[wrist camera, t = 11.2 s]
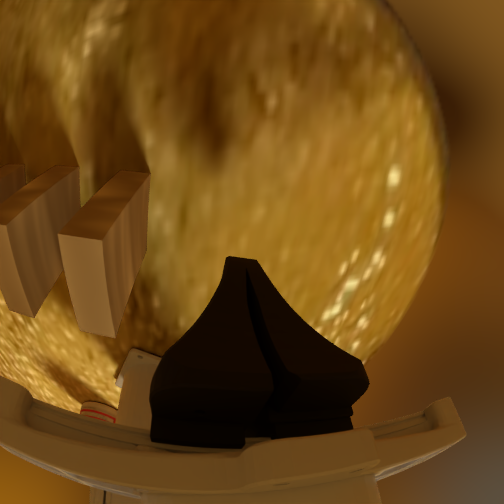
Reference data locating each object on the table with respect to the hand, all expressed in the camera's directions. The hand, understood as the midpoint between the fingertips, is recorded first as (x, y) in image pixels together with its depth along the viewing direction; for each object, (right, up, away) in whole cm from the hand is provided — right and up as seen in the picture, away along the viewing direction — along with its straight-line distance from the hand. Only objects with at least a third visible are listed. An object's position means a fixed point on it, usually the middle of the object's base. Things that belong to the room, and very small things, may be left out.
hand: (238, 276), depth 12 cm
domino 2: (-11, +4, +2) cm, 11 cm away
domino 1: (-6, +3, +3) cm, 8 cm away
